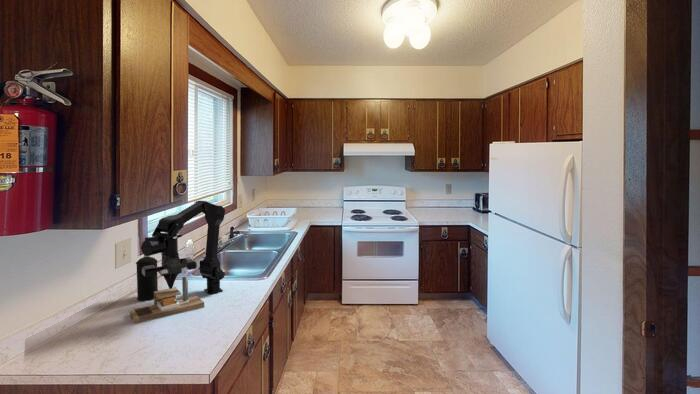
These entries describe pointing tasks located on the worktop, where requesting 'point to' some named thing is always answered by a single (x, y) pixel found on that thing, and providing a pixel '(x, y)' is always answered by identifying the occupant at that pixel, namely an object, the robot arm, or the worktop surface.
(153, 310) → the tan piece
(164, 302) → the block
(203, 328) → the worktop surface
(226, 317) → the worktop surface
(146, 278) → the aerosol can
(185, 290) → the sled
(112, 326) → the worktop surface
